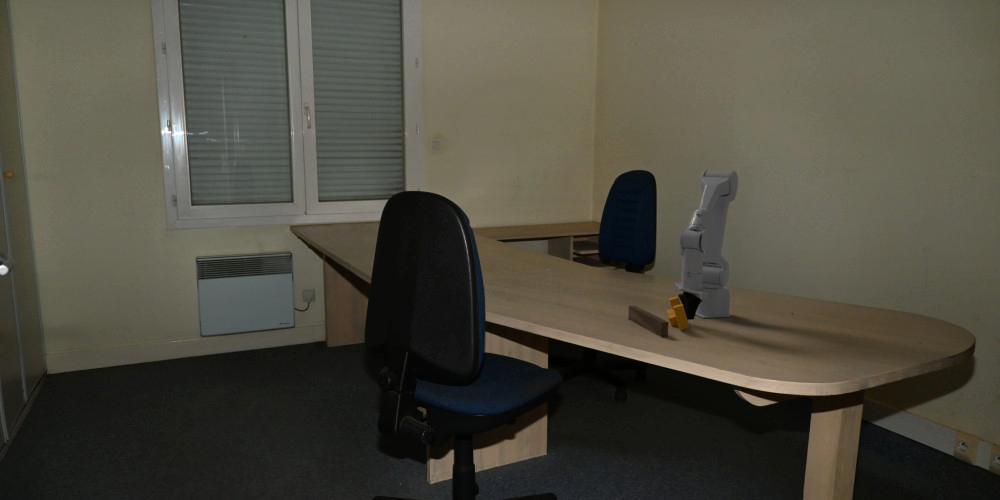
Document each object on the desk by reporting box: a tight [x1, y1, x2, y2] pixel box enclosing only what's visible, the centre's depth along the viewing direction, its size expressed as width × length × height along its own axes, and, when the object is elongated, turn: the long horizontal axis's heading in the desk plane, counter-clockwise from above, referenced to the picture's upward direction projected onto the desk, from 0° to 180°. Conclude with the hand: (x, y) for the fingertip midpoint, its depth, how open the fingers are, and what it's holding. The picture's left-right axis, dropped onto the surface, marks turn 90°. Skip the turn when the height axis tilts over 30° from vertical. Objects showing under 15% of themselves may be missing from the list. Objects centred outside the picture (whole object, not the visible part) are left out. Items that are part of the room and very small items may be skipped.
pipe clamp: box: [665, 296, 690, 331], centre depth 190 cm, size 12×4×6 cm, turn 172°
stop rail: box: [627, 305, 670, 338], centre depth 188 cm, size 2×20×4 cm, turn 14°
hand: (689, 319), depth 191 cm, fingers closed
